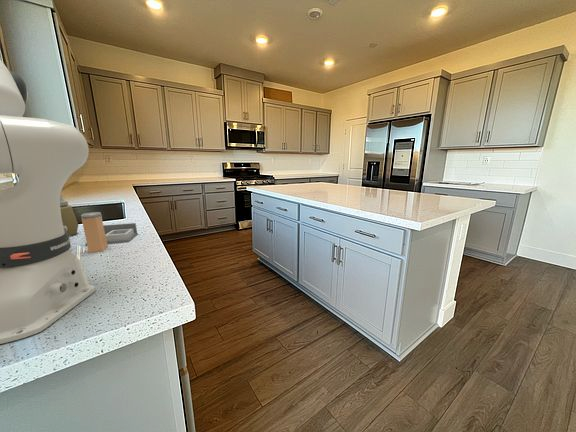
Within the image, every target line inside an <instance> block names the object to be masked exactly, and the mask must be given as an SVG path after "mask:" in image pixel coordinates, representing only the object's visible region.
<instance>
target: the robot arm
mask: <svg viewBox="0 0 576 432" xmlns="http://www.w3.org/2000/svg"><path fill="white" fill-rule="evenodd" d="M25 82H26V81H24V79H23V78H22V77H21V76H20V75H19V74H17V73H16V72H14V71H11V70H9V69H8V67H7V66H6V64H5V63H4V62H3V61H2V59H1V58H0V174H2V175H3V174H15V175H18V182H17V183H16V185H14V186H13V187H10V188H8V189H6V190H4V191H2V192H0V345H1V344H6V343H9V342H14V341H18V340H23V339H24V338H27V337H30V336H34V335H36V334H39V333H41V332H42V331H44V330H46V329H47V328H49V327H50V326H51V325H53V324H54V323H55V322H56V321H57V320H59V319H60V318H61V317H63V316H64V315H65V314H67V313H68V312H70V311H71V310H73V308H75V307H76V306H77V305H79V304H80V303H81V302H83V301H84V300H85V299H88V297H89V296H91V295H92V294H93V293H95V292H96V287H95V286H94V285H93V284H89V282H88V278H87V276H86V272H85V270H84V267H83V265H82V262H81V259H80V258H79V257H77V256H75V255H74V253H73V252H72V251H71V250H70V249H71V246H72V245H71V239H70V236H68V234H67V233H66V232H65V231H67V227H66V226H63V222H62V217H61V210H60V195H61V196H62V190H63V187H64V185H65V184H66V182H67V180H68V179H69V178H70V177H71V175H72V174H74V173H75V172H76V171H77V170H78V169H80V168H81V167H83V166H84V164H85V163H86V162H87V160H88V157H89V153H90V152H89V151H90V150H89V144H88V142H87V139H86V138H85V136H84V135H83V134H82V132H81V131H80V130H78V129H77V128H76V127H75V126H74V125H72V124H67V123H63V122H59V121H55V120H50V119H47V118H40V117H38V118H37V117H25V116H24V114H25V112H26V104H27V102H28V98H29V93H28V88H27V85H26V83H25Z"/></svg>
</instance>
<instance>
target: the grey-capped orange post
mask: <svg viewBox="0 0 576 432" xmlns="http://www.w3.org/2000/svg"><path fill="white" fill-rule="evenodd" d="M80 216H81V223H82V227H83V232H84V236H85V237H84V238H85V241H86V242H85V243H87V246H86V247H87V250H88V253H89V254H90V253H98V252H99V253H100V252H104V251H105V250H107V249H108V244H107V241H106V236H105V231H104V226H103V225H104V222H103V215H102V213H101V211H95V212H94V211H92V212H86V213H85V212H84V213H82V214H80Z"/></svg>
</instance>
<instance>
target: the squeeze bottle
mask: <svg viewBox="0 0 576 432" xmlns="http://www.w3.org/2000/svg"><path fill="white" fill-rule="evenodd" d="M60 210H61V217H62V222H63V226H66V227H67V231H65V232H66V233H67V234H68V237H72V236H74V235H77V234H78V228H79V223H78V221H77V218H76V215H75V212H74V209H73V206H71V205H69V201H68V200H64V198H63V196H62V194H61V195H60Z"/></svg>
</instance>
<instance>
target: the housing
mask: <svg viewBox="0 0 576 432" xmlns="http://www.w3.org/2000/svg"><path fill="white" fill-rule="evenodd" d="M103 226H104V231H105V236H106V241H107V245H110V244H111V245H112V244H113V243H114V244H123V242H125V243H130V242H131V241H132V240H133V239H135V238H136V236H137V235H138V230H137V224H136V222H131V223H119V224H103ZM129 241H130V242H129ZM84 246H86V247H88V246H87V242H85V245H84Z"/></svg>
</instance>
